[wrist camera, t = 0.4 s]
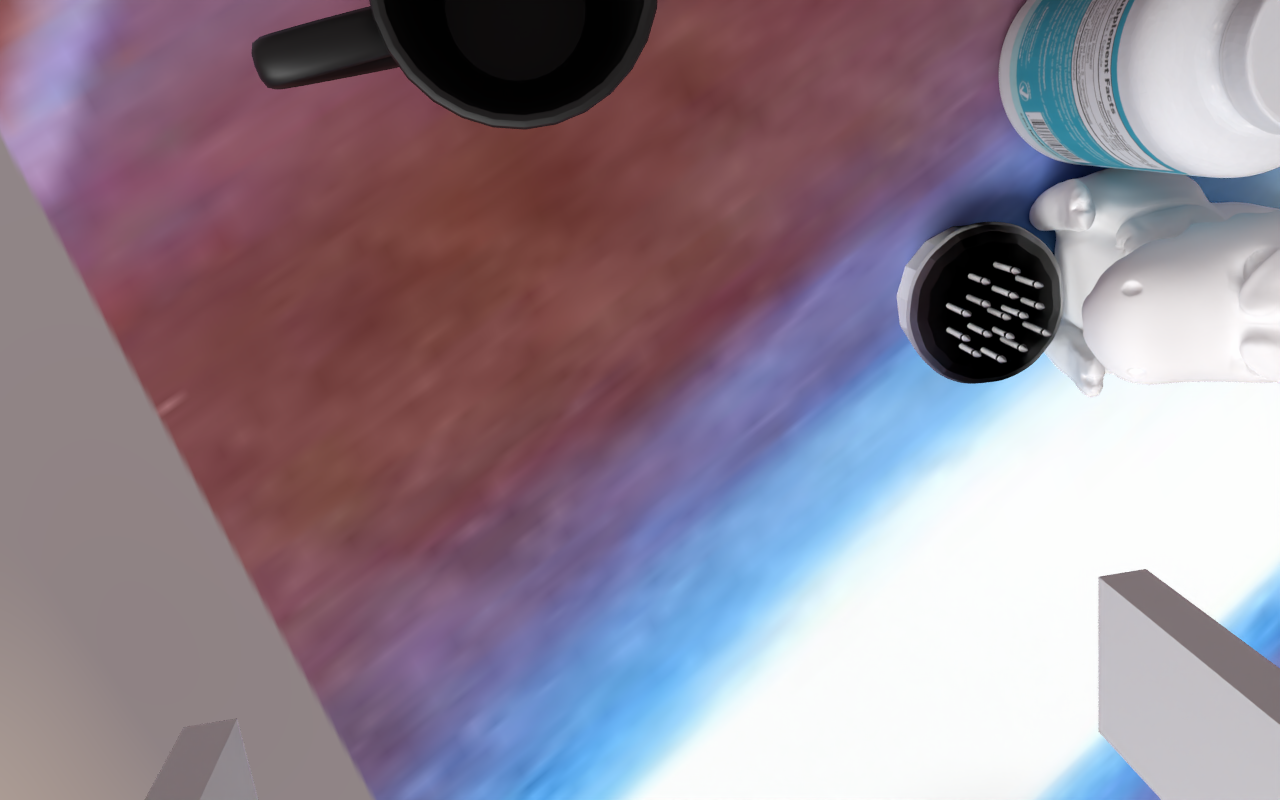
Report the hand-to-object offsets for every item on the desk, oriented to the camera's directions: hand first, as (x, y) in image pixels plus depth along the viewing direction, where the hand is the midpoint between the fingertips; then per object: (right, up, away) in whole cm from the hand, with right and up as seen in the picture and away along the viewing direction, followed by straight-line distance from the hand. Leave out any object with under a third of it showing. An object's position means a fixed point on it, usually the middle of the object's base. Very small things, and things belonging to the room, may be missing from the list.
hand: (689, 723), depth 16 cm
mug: (-7, +19, +23) cm, 30 cm away
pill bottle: (+16, +18, +26) cm, 35 cm away
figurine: (+18, +11, +28) cm, 35 cm away
